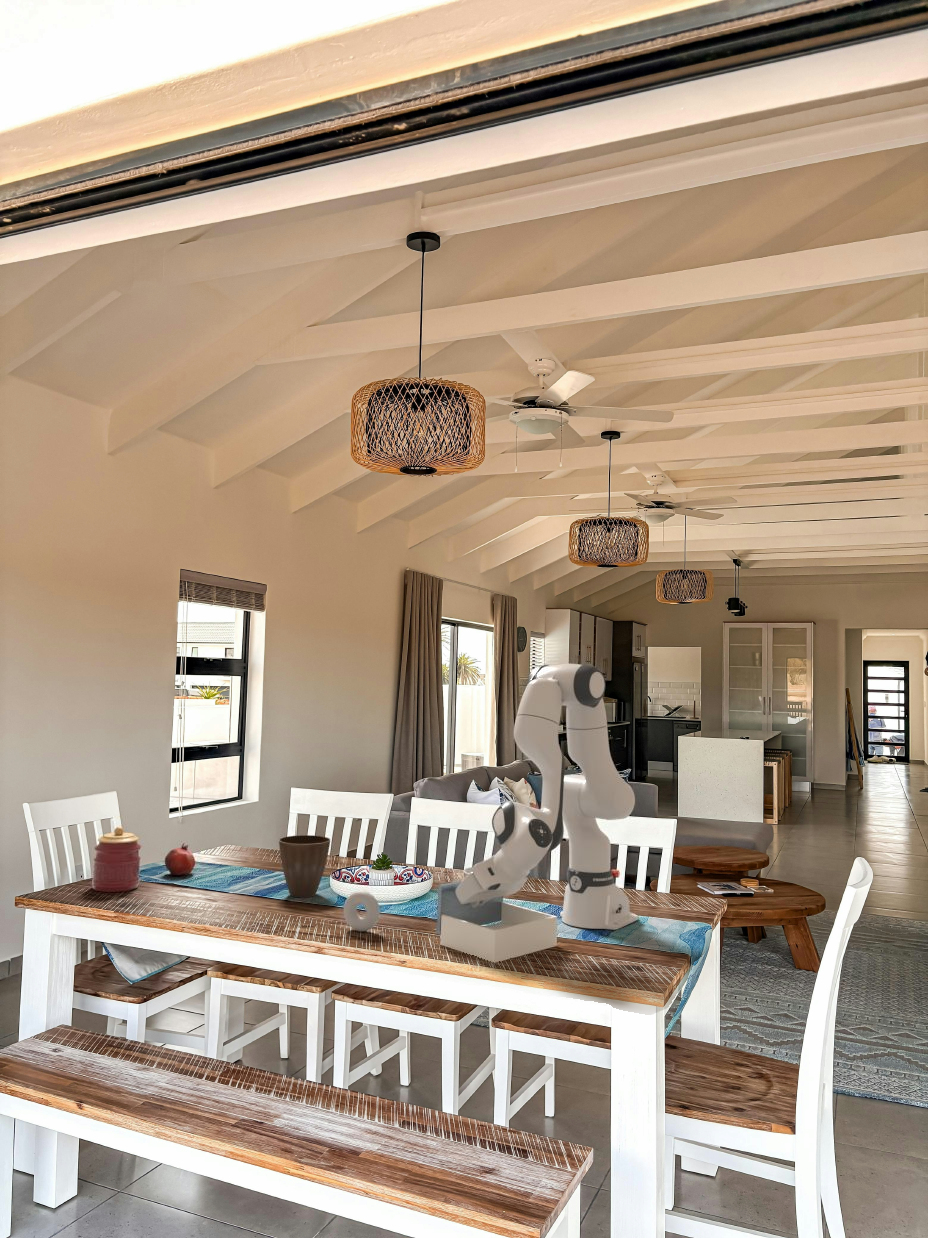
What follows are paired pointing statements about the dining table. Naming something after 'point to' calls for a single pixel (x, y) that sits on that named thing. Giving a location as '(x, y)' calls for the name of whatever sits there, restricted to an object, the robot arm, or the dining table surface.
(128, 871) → the canister
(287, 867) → the plant pot
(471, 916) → the grey rectangular panel
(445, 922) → the drawer box
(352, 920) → the donut
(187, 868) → the fruit
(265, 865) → the dining table surface
